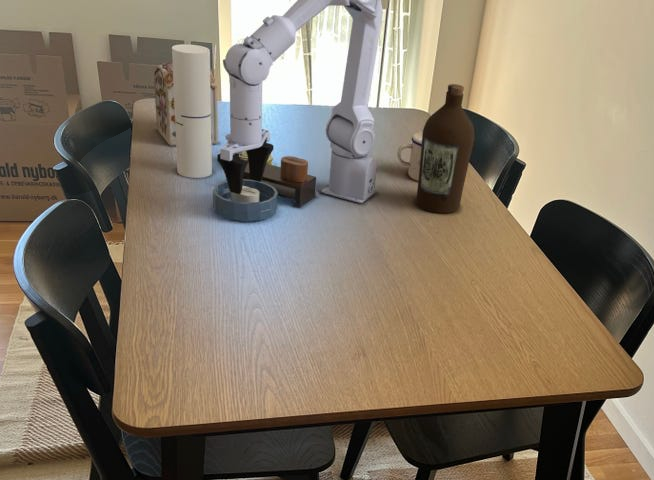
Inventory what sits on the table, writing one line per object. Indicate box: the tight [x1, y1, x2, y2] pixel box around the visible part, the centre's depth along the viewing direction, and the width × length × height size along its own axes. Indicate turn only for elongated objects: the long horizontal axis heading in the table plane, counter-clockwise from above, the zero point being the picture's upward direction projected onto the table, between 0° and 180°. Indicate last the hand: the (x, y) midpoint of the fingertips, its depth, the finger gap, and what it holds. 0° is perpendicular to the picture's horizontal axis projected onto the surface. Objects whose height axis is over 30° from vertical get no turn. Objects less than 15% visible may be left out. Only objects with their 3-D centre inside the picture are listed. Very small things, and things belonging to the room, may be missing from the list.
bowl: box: [212, 179, 279, 222], centre depth 147 cm, size 12×12×4 cm
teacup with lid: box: [396, 131, 423, 182], centre depth 172 cm, size 12×9×12 cm
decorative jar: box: [153, 61, 219, 147], centre depth 173 cm, size 12×12×18 cm
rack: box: [243, 159, 317, 209], centre depth 155 cm, size 16×7×4 cm, turn 69°
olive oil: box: [415, 83, 475, 214], centre depth 155 cm, size 11×11×25 cm
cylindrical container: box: [171, 43, 213, 179], centre depth 154 cm, size 7×7×25 cm
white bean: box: [231, 186, 259, 203], centre depth 146 cm, size 6×4×4 cm
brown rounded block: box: [280, 155, 309, 182], centre depth 152 cm, size 6×4×4 cm
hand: (246, 186), depth 145 cm, fingers open, 7 cm apart
